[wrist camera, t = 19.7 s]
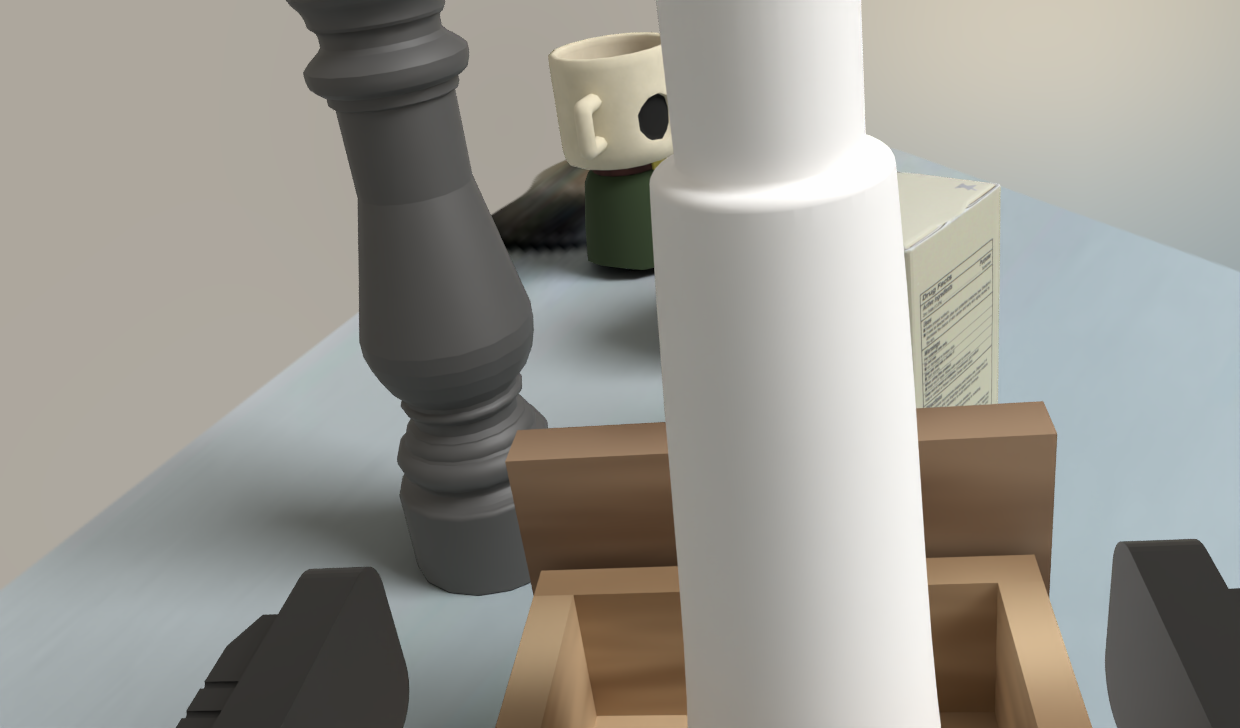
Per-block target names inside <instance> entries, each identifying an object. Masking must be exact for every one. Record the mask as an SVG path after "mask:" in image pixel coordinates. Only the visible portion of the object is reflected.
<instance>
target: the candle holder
mask: <svg viewBox="0 0 1240 728" xmlns="http://www.w3.org/2000/svg"><path fill="white" fill-rule="evenodd" d="M286 1H287V2H288V4H289V5H290V6H291V7H292V8H293V9H295V10H296V11H297V12H298V13H299V14H300V15H301V16H302V18H303V20H304V22H305V24H306V27H307V28H308V29H309V30H310V31H312V32H314V33H315V34H316V35H317V37H318V40H319V44H320V49H319V51H318V53H317V54H316V55H315V57H314V58H313V59H312V60H311V62H310V63H309V64H308V66H307V67H306V69H305V71H304V72H303V74H304V78H305V82H306V84H307V86H308V88H309V89H310V91H312V92H314V93H315V94H317V95H319V96H321V97H323V98H325V99H327V103H328V106H329V107H330V108H332V109H334V110H335V111H336V114H337V118H338V122H339V126H340V130H341V134H342V137H343V142H344V146H345V150H346V154H347V157H348V161H349V165H350V169H351V173H352V177H353V181H354V185H355V189H356V193H357V197H358V245H359V246H358V249H359V250H358V251H359V342H360V346H361V349H362V353H363V357H364V359H365V360H366V362H367V364H368V365H369V367H370V369H371V370H372V372H373V373H374V374H375V376H376V377H377V378H378V380H379V381H380V382H381V383H382V384H383V385H384V386H385V387H386V388H387V389H388V390H389V391H390V392H391V393H392V394H393V395H394V396H395V397H397V398H399V399H400V400H402V402H401V408H402V409H403V410H404V411H405V413H406V414H407V415H408V417H410V418H411V420H410V421H409V423H408V425H407V430H406V433H405V434H404V435H403V437H402V438H401V441H400V446H399V451H398V456H397V462H398V465H399V466H400V468H401V469H402V471H403V472H404V476H403V478H402V484H401V490H400V499H401V503H402V507H403V510H404V514H405V518H406V522H407V525H408V529H409V533H410V536H411V540H412V544H413V548H414V551H415V555H416V559H417V563H418V566H419V568H420V569H421V571H422V573H423V574H424V576H425V577H426V579H427V581H428V582H430V583H432V584H434V585H436V586H438V587H440V588H442V589H444V590H446V591H448V592H451V593H461V594H471V595H484V594H490V593H496V592H503V591H509V590H513V589H515V588H518V587H520V586H522V585H525V584H527V583H529V582H531V581H530V576H529V571H528V566H527V562H526V557H525V552H524V548H523V543H522V538H521V534H520V529H519V524H518V520H517V515H516V510H515V505H514V501H513V496H512V491H511V487H510V482H509V477H508V473H507V468H506V463H505V461H506V458H507V455H508V453H509V450H510V448H511V445H512V443H513V440H514V438H515V435H516V432H517V430H531V429H548V423H547V420H546V419H545V417H544V416H543V415H542V414H541V413H540V412H538V411H537V410H536V409H535V408H534V407H533V406H532V405H531V404H529V403H528V402H527V401H526V400H525V399H524V398H523V397H522V396H521V395H520V394H519V392H520V391H521V389H522V376H521V374H520V371H521V370H522V368H523V367H524V365H525V364H526V362H527V359H528V356H529V353H530V350H531V347H532V342H533V331H534V328H533V313H532V308H531V303H530V300H529V297H528V295H527V293H526V291H525V289H524V286H523V284H522V282H521V280H520V278H519V276H518V274H517V271H516V269H515V267H514V265H513V263H512V261H511V258H510V256H509V254H508V252H507V250H506V248H505V245H504V243H503V241H502V239H501V236H500V234H499V232H498V230H497V228H496V225H495V223H494V221H493V219H492V217H491V214H490V212H489V210H488V208H487V206H486V203H485V201H484V199H483V197H482V194H481V192H480V190H479V188H478V186H477V183H476V181H475V179H474V177H473V175H472V171H471V166H470V161H469V156H468V151H467V146H466V141H465V136H464V131H463V126H462V121H461V116H460V111H459V106H458V101H457V96H456V92H455V89H456V88H457V87H458V84H459V77H458V74H460V73H461V72H462V71H463V70H464V69H465V68H466V67H467V65H468V59H469V48H468V43H467V41H466V40H464V39H463V38H462V37H460V36H459V35H457V34H455V33H453V32H451V31H449V30H447V29H446V28H445V27H443V26H442V24H441V19H440V12H441V11H442V10H443V7H444V5H445V0H286Z"/></svg>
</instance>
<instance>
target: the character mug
mask: <svg viewBox="0 0 1240 728" xmlns="http://www.w3.org/2000/svg"><path fill="white" fill-rule="evenodd" d="M548 59H549V67H550V73H551V80H552V86H553V92H554V98H555V104H556V111H557V117H558V123H559V129H560V136H561V142H562V148H563V152H564V155H565V158H566V160H567V161H568V163H569V164H570V165H571V166H575V167H579V168H583V169H589V170H590V171H589V172H588V175H587V178H586V181H585V224H586V240H587V254H588V261H590V262H592V263H595V264H598V265H602V266H610V267H617V268H627V269H628V270H633V269H638V270H646V269H650V268H654V254H653V238H652V221H651V205H650V185H649V184H650V178H651V176H652V174H653V172H654V170H655V168H656V167H657V166H658V165H659V164H660V163H661V162H662V161H664V160H665V159H666V158H667V157H669V156H671V155H672V154H674V153H673V144H672V136H671V127H670V118H669V109H668V100H667V92H666V83H665V74H664V65H663V57H662V48H661V39H660V33H653V32H642V33H640V32H638V33H623V34H613V35H606V36H601V37H595V38H589V39H585V40H581V41H578V42H574V43H570V44H567V45H564V46H562V47H559V48H557V49H555V50H553V51H552V52H551V53H550V54H549V55H548Z"/></svg>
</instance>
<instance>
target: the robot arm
mask: <svg viewBox="0 0 1240 728" xmlns="http://www.w3.org/2000/svg"><path fill="white" fill-rule="evenodd" d="M1105 671H1106V683H1107V690H1108V696H1109V701H1110V705H1111V710H1112V713H1113V717H1114V720H1115V723H1116V725H1117V728H1240V588H1238V589H1228V587H1227V585H1226V583H1225V582H1224V580H1223V578H1222V576H1221V575H1220V573H1219V571H1218V569H1217V568H1216V566H1215V564H1214V562H1213V560H1212V559H1211V557H1210V555H1209V553H1208V552H1207V550H1206V548H1205V547H1204V545H1203V544H1202V543H1201V542H1200V541H1199V540H1197V539H1179V540H1151V541H1123V542H1119V543H1118V544H1117V545H1116V547H1115V550H1114V555H1113V564H1112V577H1111V589H1110V602H1109V614H1108V627H1107V639H1106V652H1105ZM408 702H409V679H408V671H407V667H406V663H405V659H404V656H403V652H402V649H401V645H400V642H399V639H398V635H397V632H396V628H395V625H394V621H393V618H392V614H391V611H390V607H389V604H388V600H387V597H386V593H385V590H384V586H383V583H382V580H381V578H380V576H379V574H378V572H377V571H376V570H375V569H374V568H372V567H351V568H323V569H309V570H307V571H305V572H304V573H303V574H302V575H301V577H300V578H299V580H298V581H297V583H296V585H295V587H294V588H293V590H292V592H291V593H290V595H289V597H288V598H287V600H286V602H285V604H284V605H283V607H282V609H281V610H280V612H279V614H273V615H262V616H261V617H260V618H259V619H257V620H256V621H255V622H254V623H253V624H252V625H251V626H249V627H248V628H247V629H246V630H245V631H244V632H243V633H241V634H240V635H239V636H238V637H237V638H236V639H234V640H233V641H232V642H231V643H230V644H229V645H228V646H227V647H226V648H225V650H224V651H223V653H222V655H221V656H220V658H219V659H218V661H217V663H216V664H215V666H214V667H213V669H212V671H211V672H210V674H209V675H208V677H207V679H206V680H205V687H204V689H200V690H199V691H198V693H197V695H196V696H195V698H194V699H193V701H192V703H191V704H190V706H189V707H188V709H187V716H186V718H182V719H181V720H180V722H179V723H178V725H177V727H176V728H403V726H404V723H405V720H406V715H407V710H408Z"/></svg>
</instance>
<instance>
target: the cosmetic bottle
mask: <svg viewBox="0 0 1240 728" xmlns="http://www.w3.org/2000/svg"><path fill="white" fill-rule="evenodd" d="M656 5H657V13H658V22H659V31H660V39H661V48H662V57H663V65H664V74H665V83H666V92H667V100H668V109H669V118H670V127H671V136H672V144H673V153H674V154H672V155H671V156H669V157H668V158H666V159H665V160H664V161H662V162H661V163H660V164H659V165H658V166H657V167H656V168H655V170H654V172H653V174H652V176H651V178H650V184H649V185H650V205H651V221H652V238H653V254H654V270H655V287H656V303H657V317H658V330H659V343H660V356H661V370H662V383H663V396H664V409H665V421H666V433H667V444H668V456H669V468H670V480H671V492H672V504H673V515H674V527H675V539H676V551H677V563H678V575H679V588H680V602H681V615H682V628H683V641H684V658H685V677H686V695H687V724H688V728H941V723H940V715H939V706H938V698H937V688H936V678H935V667H934V657H933V646H932V635H931V622H930V608H929V595H928V582H927V568H926V555H925V540H924V525H923V509H922V494H921V479H920V463H919V448H918V433H917V417H916V402H915V387H914V373H913V360H912V346H911V333H910V319H909V306H908V292H907V280H906V269H905V258H904V246H903V235H902V224H901V213H900V202H899V190H898V180H897V170H896V161H895V157H894V154H893V153H892V151H891V150H890V148H889V147H888V146H887V145H885V144H884V143H883V142H882V141H880V140H878V139H876V138H874V137H871V136H869V135H866V134H865V105H864V76H863V49H862V48H863V47H862V19H861V0H656Z"/></svg>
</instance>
